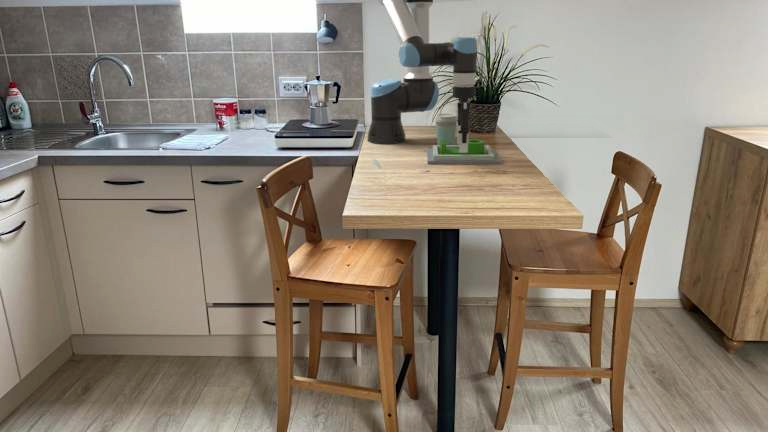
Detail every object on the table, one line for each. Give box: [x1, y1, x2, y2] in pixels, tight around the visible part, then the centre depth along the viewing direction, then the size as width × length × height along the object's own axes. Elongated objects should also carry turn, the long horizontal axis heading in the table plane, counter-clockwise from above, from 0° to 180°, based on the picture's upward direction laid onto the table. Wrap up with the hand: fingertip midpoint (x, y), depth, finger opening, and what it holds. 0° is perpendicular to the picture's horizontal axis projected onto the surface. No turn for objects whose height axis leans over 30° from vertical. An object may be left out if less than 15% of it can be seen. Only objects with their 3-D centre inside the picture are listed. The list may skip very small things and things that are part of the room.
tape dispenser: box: [440, 139, 486, 155], centre depth 201 cm, size 15×7×5 cm, turn 89°
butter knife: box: [370, 158, 382, 170], centre depth 189 cm, size 1×27×3 cm
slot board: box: [426, 144, 502, 165], centre depth 202 cm, size 24×20×2 cm
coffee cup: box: [434, 113, 458, 145], centre depth 217 cm, size 9×8×12 cm
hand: (462, 148), depth 202 cm, fingers open, 13 cm apart
